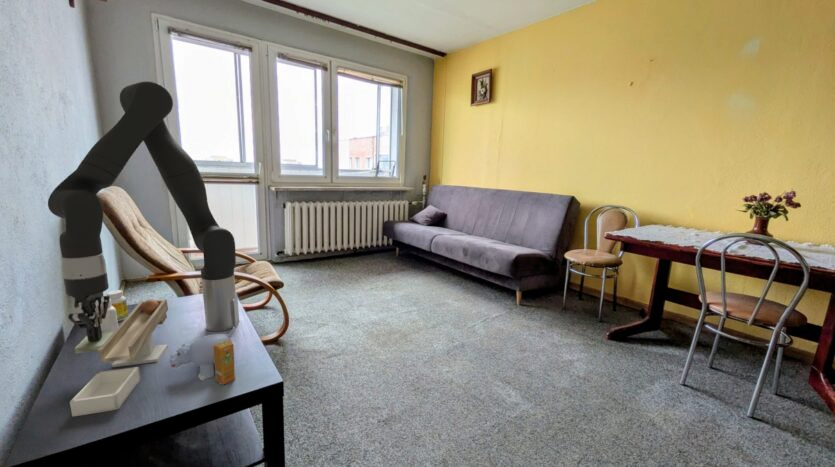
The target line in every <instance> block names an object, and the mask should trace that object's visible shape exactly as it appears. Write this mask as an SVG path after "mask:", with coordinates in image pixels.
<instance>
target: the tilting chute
mask: <svg viewBox="0 0 835 467" xmlns="http://www.w3.org/2000/svg"><path fill="white" fill-rule="evenodd" d="M155 300H156V299H155ZM145 301H146V300H143V301H140V302H138V304H137V305H136V306H135V307H134V308H133V310H131V311H130V313H128V316H127V318H126V319H124V320H122V321H121V323H120V324H119V325H118V328H117V329H116V330H115V331H114V332H106V333H102V338H101V339H100V340H98V341H93V342H89V341H88V337H87V335H86V336H85V337H84V338H83V339H82V340H81V341H80V342H79V343H78V344H77V345H76V346H75V347H74V353H75V354H81V353H82V354H83V353H90V352H98V356H99V359H100V362H101V363H108V362H115V361H118V360H126V359H134V358H135V357H136V356H137V354H138V353H139V351H140V350H141V348H142V347H143V345H144V344H145V343H146V341H147V340H148V338H149V337H150V335H151V334H153V332H154V331H155V330H156V328H157V327H158V326H159V325H163V324H164V322H166V319H167V318H168V315H167V312H168V311H169V306H168V301H167V299H157V300H156V301H157V302H158V304H159V306H158V308H157V309H156V310H155V311H154V312H153V313H145V312H144V311H143V310H142V304H143V303H144V302H145Z"/></svg>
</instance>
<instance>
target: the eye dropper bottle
mask: <svg viewBox="0 0 835 467" xmlns="http://www.w3.org/2000/svg"><path fill="white" fill-rule="evenodd" d="M103 296H107V294H105V295H104V294H103ZM100 325H101V332H102V333H106V332H114V331H115V330H116V329H117V328H118V327H119V321H118V320H117V314H116V309H115V308H114V307H113V306H112V304H111V299H109V304H108V308H107V313H106V317H105V319H102V324H100Z"/></svg>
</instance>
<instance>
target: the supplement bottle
mask: <svg viewBox="0 0 835 467" xmlns="http://www.w3.org/2000/svg"><path fill="white" fill-rule="evenodd" d="M123 294H124V292H123V290H122V289H121V290H120V289H117V290H110V291H108V292H106V296H109V297H110V299H111V304H112V306H113V307H114V308H115V309H116V314H117V320H118V322H123V321H124V320H125V319H126V318H127V316H128V315H129V311H128V303H127V298H126V296H124V295H123Z"/></svg>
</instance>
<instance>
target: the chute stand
mask: <svg viewBox="0 0 835 467" xmlns="http://www.w3.org/2000/svg"><path fill="white" fill-rule="evenodd" d="M152 334H153V333H152ZM152 334H151V335H150V337H149V338H148V340H147V341H146V343H145V344H144V345H143V347H142V348H141V350H140V351H139V353H138V354H137V356H136V357H135V358H134V359H126V360H118V361H113V363H112V364H111V366H112V368H117V367H127V366H133V365H140V364H142V365H143V364H149V363H157V362H159V361H160V359H161V358H162V356H163V355H164V353H165V352H166V351H167V350H168V348H169V344H159V345H154V344H153V343H154V342H153V336H152Z"/></svg>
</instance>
